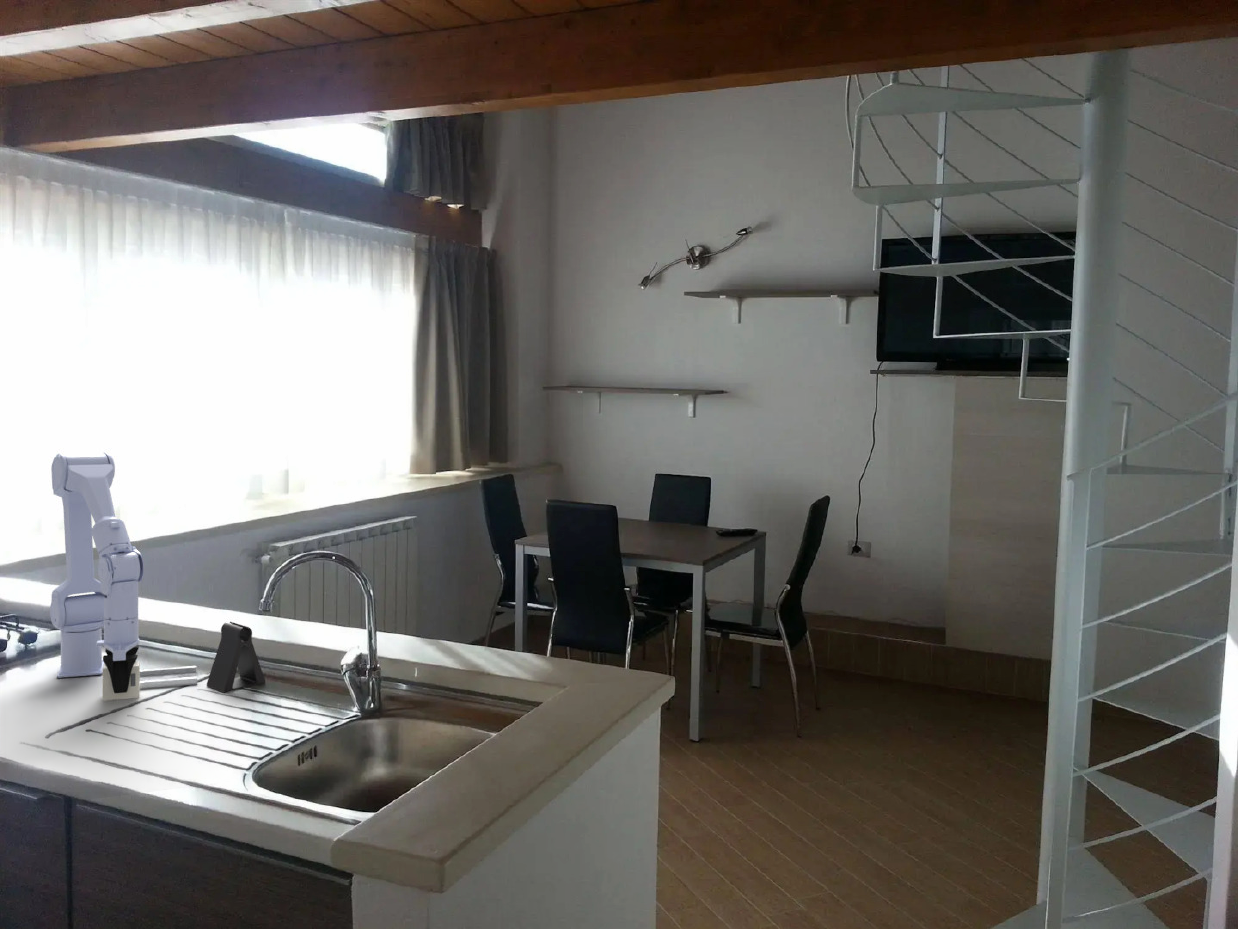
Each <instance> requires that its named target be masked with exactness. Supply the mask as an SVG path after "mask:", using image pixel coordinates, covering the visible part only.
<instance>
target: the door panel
mask: <svg viewBox="0 0 1238 929" xmlns="http://www.w3.org/2000/svg"><path fill="white" fill-rule="evenodd" d="M140 665H141V662H140V661H137V660H136V661H135V663H134V665H133V668H132V671H131V675H130V681H129V687H128V690H127V692H126V693H114V690H113V687H112V682H111V677H110V673H109V671H108V669H107V667H106V665H105V664H104V665H103V674H102V701H104V702H106V701H113V699H114V701H116V700H115V699H117V700H125V699H136V698H140V694H141V692H140V691H141V689H140V670H141V666H140ZM139 693H140V694H139Z"/></svg>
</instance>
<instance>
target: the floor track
mask: <svg viewBox="0 0 1238 929" xmlns="http://www.w3.org/2000/svg"><path fill="white" fill-rule="evenodd" d="M191 685H193V686H194V685H198V675H197V665H190V666H189V665H188V666H187V665H185V666H176V667H175V666H174V667H162V668H151V669H150V668H149V669H140V690H143V689H144V690H145V689H158V688H168V687H178V686H179V687H180V686H181V687H182V686H191Z"/></svg>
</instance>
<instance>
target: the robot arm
mask: <svg viewBox="0 0 1238 929" xmlns="http://www.w3.org/2000/svg"><path fill="white" fill-rule="evenodd" d="M50 470H51V486H52V490H53V495H55V496H57V497H60V498H61V500H62V506H63V524H64V527H63V528H64V545H65V547H64V548H65V565H66V579H65V580H64V581H63V582H62V583H61V584H59V585H58V586H56V587H55V588H54V590H52V592H51V602H50V607H49V616H50V620H51V624H52V625H53V627H54V628H55V629H57V630H59V631H60V667H59V668H58V672H57V674H56V678H59V679H60V678H70V677H71V678H75V677H86V676H87V677H88V676H98V675H99V676H101V675H103V665H104V664H105V665H106V667H107V669H108V671H109V673H110V677H111V682H112V687H113V690H114V693H126V692H127V690H128V687H129V681H130V675H131V671H132V668H133V665H134V663H135V662H136V661H137V659H138V654H137V652H138V651H139V648H140V646H139V645H140V642H141V640H140V638H139V582H141V581H142V580H143V578H144V574H145V563H144V559H143V556H142V553H141V552H140V551H139V550H138V549H137V547H136V546H132V543H131V540H130V536H129V534H128V531H127V528H126V525H125V522H124V521H123V520H121V519H119V518H117V517H116V513H115V508H114V504H113V500H112V498H113V497H112V493H111V490H110V488H111V487H112V485H113V481H114V478H115V475H116V474H115V473H116V466H115V461H114V458H113V457H112V455H111V454H110V453H108V452H103V453H72V454H71V453H68V454H67V453H66V454H63V453H58V454H56V455H55V457H54V458H53V460H52V463H51V469H50ZM92 519H93V521H94V525H93V526H92V524H93V523H92ZM93 543H94V544H93ZM94 546H95V547H96V551H97V555H98V558H99V561H98V565H97V574H98V578H99V580H98V579H96V578H95V566H94V563H95V562H94ZM87 593H88V594H87ZM102 628H103V631H102ZM102 636H103V638H102ZM103 647H104V648H105V650H104V651H105V652H104V653H106V654H105V655H103V654H102V652H103V651H102V650H103Z"/></svg>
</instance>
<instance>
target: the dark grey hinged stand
mask: <svg viewBox="0 0 1238 929" xmlns="http://www.w3.org/2000/svg"><path fill="white" fill-rule="evenodd" d="M220 634H221V636H220V638H221V639H220V641H219V645H218V648H217V651H216V654H215V657H214V659H213V663H212V667H211V668H210V669H211V670H210V672H209V675H208V679H207V682H206V687H208V688H210V689H213V690H215V691H219V692H221V693H224V694H226V693H230V692H235V691H238V690H243V689H245V688H251V687H254V686H255V687H256V686H258V685H263V684H265V683H266V678H265V675H264V673H263V670H262V667H261V664H260V661H259V659H258V655H257V652H256V650H255V646H254V644H253V640H252V639H253V638H252V637H253V630H252V628H250V627H249V626H246V625H242V624H239V623H235V622H233V621H229V623H228V622H224V623H223V624H222V626H221V628H220ZM237 669H238V673H239V676H238V677H236V674H237Z"/></svg>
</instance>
